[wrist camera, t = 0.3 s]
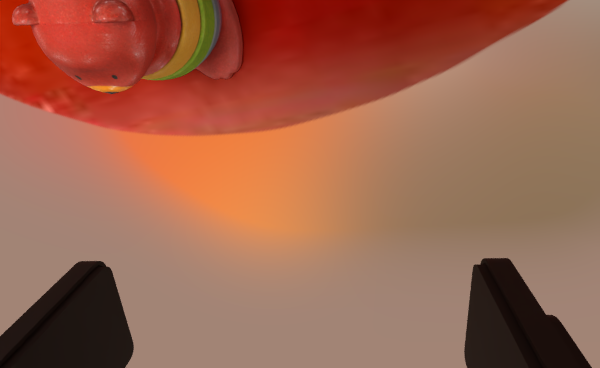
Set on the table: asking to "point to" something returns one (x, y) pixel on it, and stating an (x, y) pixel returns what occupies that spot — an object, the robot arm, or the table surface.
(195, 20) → the stacking bear
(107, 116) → the table surface
